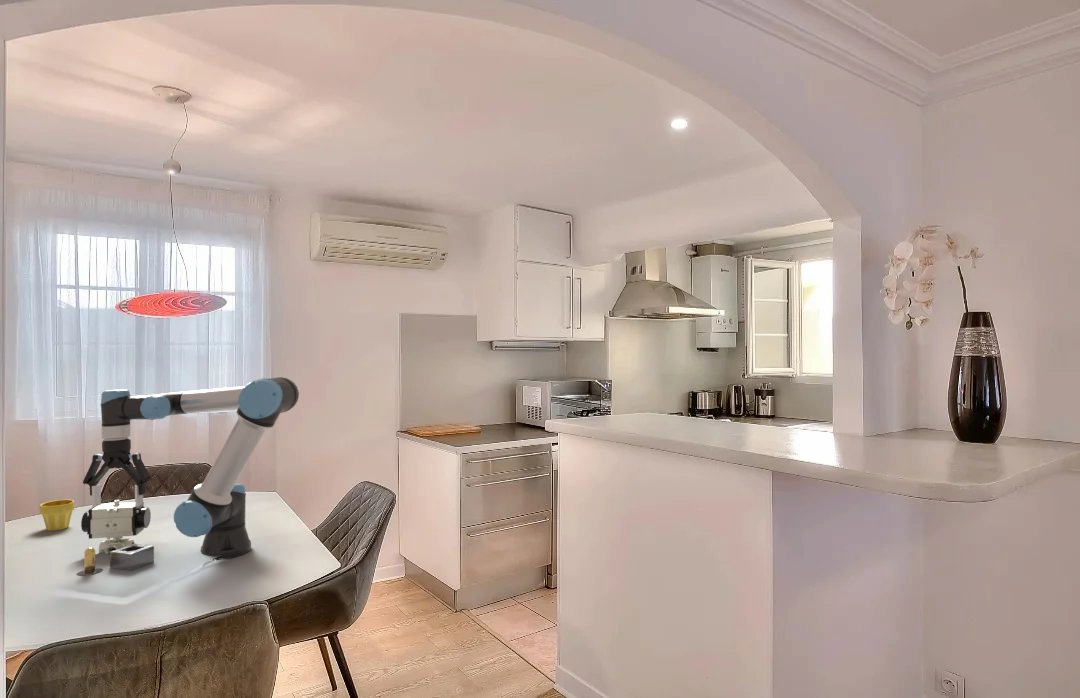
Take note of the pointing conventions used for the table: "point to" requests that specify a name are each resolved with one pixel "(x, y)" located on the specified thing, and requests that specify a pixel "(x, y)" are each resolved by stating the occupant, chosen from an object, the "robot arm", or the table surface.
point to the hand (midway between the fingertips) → (117, 505)
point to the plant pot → (57, 514)
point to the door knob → (89, 563)
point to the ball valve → (115, 523)
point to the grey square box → (131, 557)
